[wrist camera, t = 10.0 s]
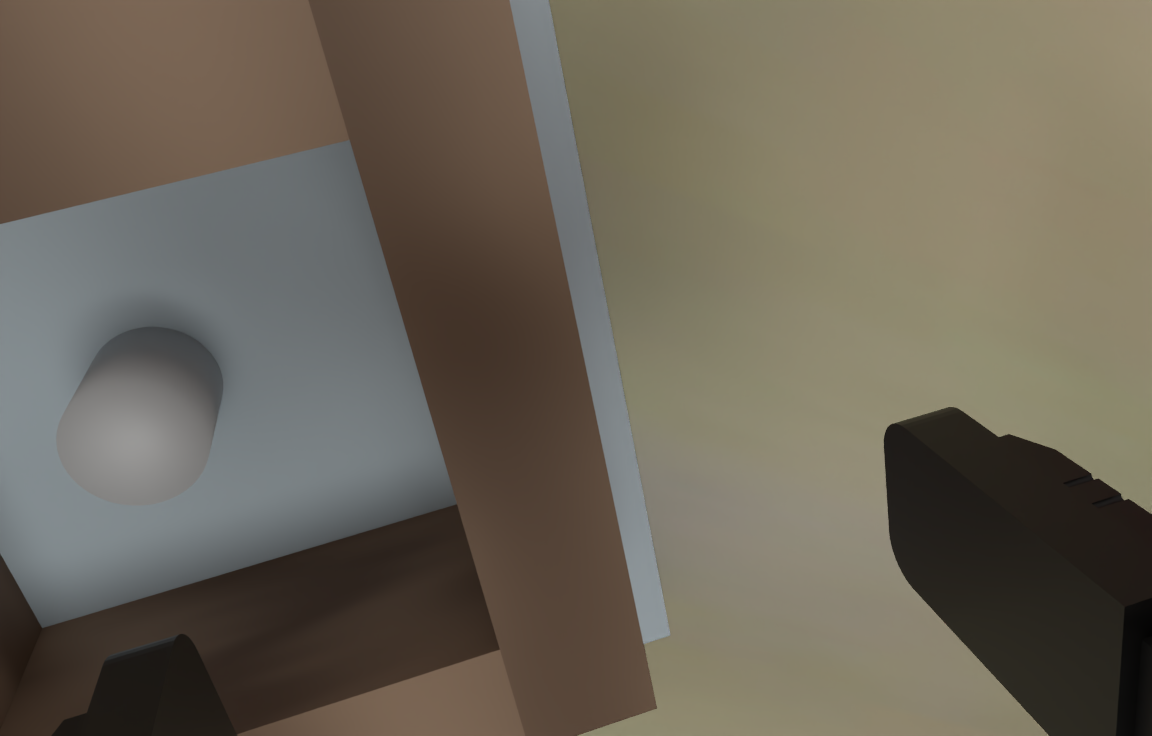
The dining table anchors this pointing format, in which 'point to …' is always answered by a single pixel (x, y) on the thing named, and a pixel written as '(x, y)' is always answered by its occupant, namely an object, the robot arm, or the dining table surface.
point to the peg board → (249, 374)
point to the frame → (437, 339)
